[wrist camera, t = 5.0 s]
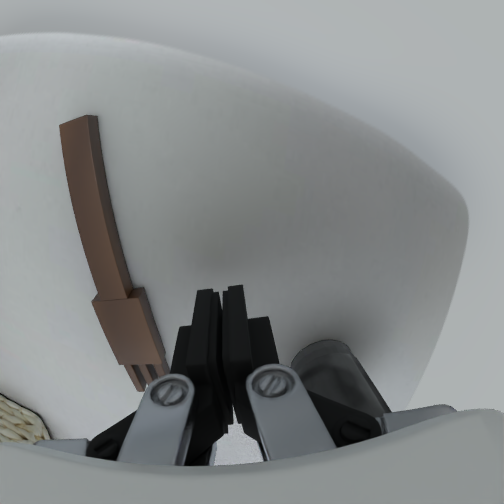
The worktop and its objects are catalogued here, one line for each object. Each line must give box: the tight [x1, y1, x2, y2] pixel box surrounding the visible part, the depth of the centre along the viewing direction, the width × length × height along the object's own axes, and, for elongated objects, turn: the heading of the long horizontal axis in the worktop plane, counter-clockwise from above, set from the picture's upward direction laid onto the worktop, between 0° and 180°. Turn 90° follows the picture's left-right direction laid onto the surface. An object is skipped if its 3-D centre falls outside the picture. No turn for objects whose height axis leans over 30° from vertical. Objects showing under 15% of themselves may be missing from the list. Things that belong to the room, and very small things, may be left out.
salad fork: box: [59, 115, 170, 392], centre depth 15 cm, size 3×18×1 cm, turn 6°
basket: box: [0, 395, 52, 445], centre depth 17 cm, size 24×16×15 cm
